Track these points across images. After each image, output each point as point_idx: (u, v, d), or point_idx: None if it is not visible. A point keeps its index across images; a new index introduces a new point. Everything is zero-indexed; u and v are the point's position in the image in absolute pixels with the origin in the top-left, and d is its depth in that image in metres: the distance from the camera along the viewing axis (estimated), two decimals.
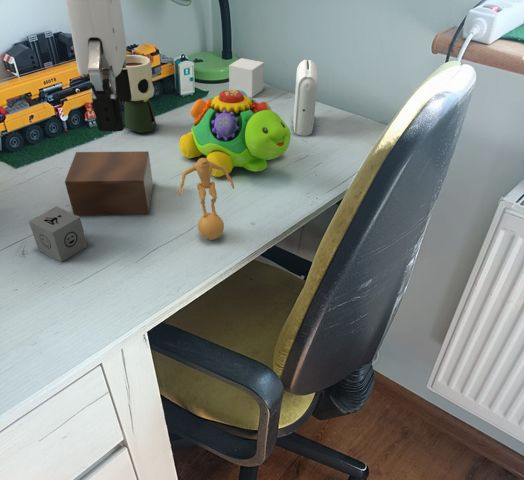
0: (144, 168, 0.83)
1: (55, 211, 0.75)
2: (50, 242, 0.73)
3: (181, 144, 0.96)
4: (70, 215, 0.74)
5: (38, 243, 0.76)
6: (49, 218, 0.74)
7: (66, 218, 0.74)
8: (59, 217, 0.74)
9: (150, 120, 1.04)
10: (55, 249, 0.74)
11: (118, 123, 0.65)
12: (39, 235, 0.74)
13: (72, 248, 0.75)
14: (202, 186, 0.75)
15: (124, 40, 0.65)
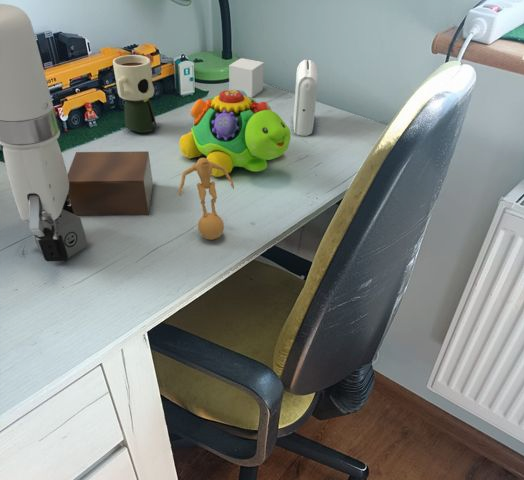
0: (144, 168, 0.83)
1: None
2: None
3: (181, 144, 0.96)
4: (70, 215, 0.74)
5: (38, 243, 0.76)
6: None
7: (66, 218, 0.74)
8: (59, 217, 0.74)
9: (150, 120, 1.04)
10: None
11: (62, 255, 0.73)
12: None
13: (72, 248, 0.75)
14: (202, 186, 0.75)
15: (65, 181, 0.72)
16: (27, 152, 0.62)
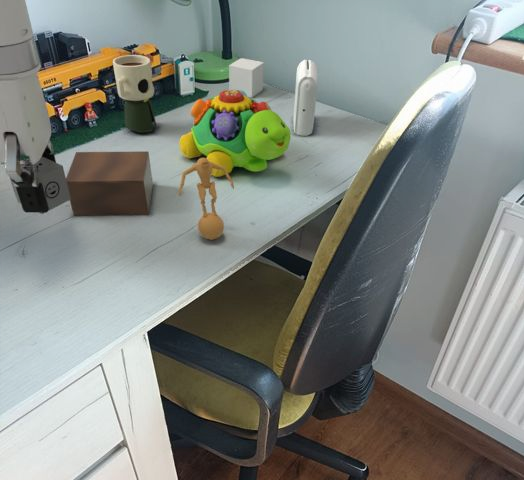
0: (144, 168, 0.83)
1: None
2: None
3: (181, 144, 0.96)
4: (52, 164, 0.69)
5: (16, 194, 0.70)
6: None
7: (47, 166, 0.68)
8: (40, 165, 0.68)
9: (150, 120, 1.04)
10: None
11: (42, 206, 0.68)
12: None
13: (54, 200, 0.70)
14: (202, 186, 0.75)
15: (46, 125, 0.66)
16: (3, 83, 0.57)
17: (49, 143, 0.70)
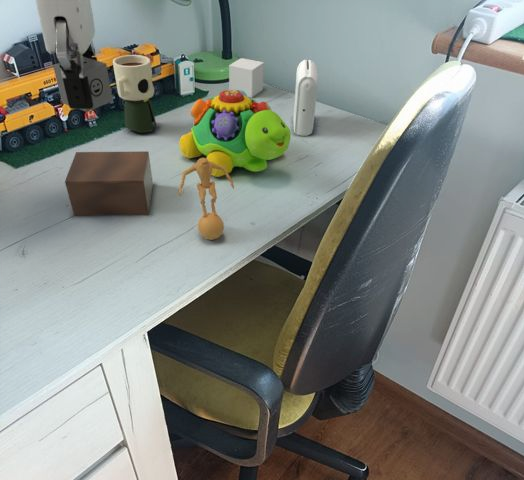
0: (144, 168, 0.83)
1: None
2: None
3: (181, 144, 0.96)
4: (96, 62, 0.71)
5: (62, 93, 0.72)
6: None
7: (92, 64, 0.71)
8: (84, 63, 0.71)
9: (150, 120, 1.04)
10: None
11: (87, 101, 0.70)
12: None
13: (97, 98, 0.72)
14: (202, 186, 0.75)
15: (91, 21, 0.69)
16: None
17: (92, 44, 0.73)
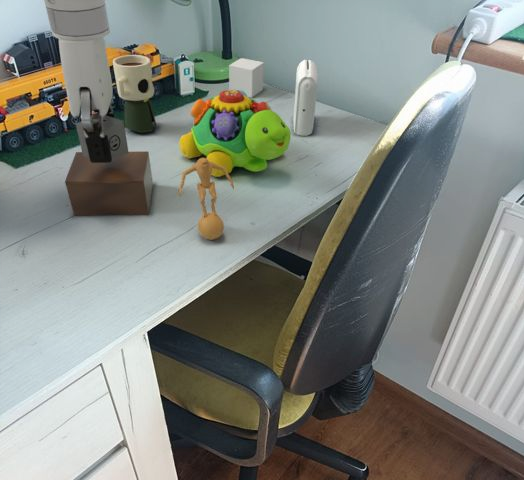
0: (144, 168, 0.83)
1: None
2: None
3: (181, 144, 0.96)
4: (114, 120, 0.79)
5: (83, 148, 0.80)
6: (94, 122, 0.78)
7: (110, 122, 0.78)
8: (104, 121, 0.78)
9: (150, 120, 1.04)
10: None
11: (107, 156, 0.78)
12: None
13: (115, 152, 0.80)
14: (202, 186, 0.75)
15: (110, 85, 0.76)
16: (81, 43, 0.67)
17: (110, 103, 0.80)
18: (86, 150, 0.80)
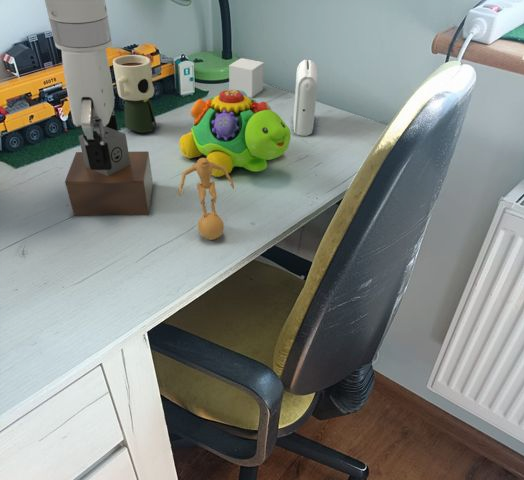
0: (144, 168, 0.83)
1: None
2: None
3: (181, 144, 0.96)
4: (116, 132, 0.80)
5: (85, 159, 0.81)
6: None
7: (113, 134, 0.80)
8: (106, 133, 0.80)
9: (150, 120, 1.04)
10: None
11: (107, 163, 0.77)
12: None
13: (117, 164, 0.81)
14: (202, 186, 0.75)
15: (112, 94, 0.77)
16: (84, 55, 0.67)
17: None
18: None
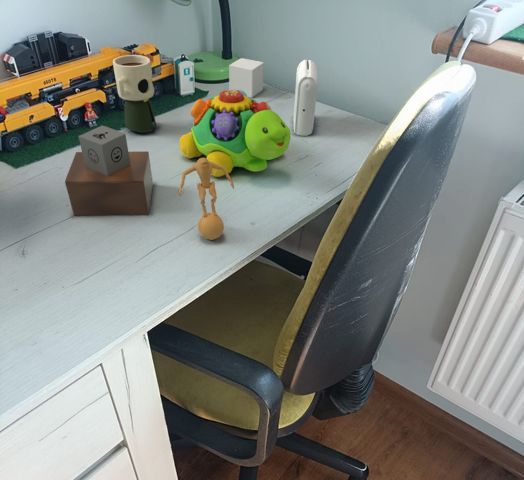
0: (144, 168, 0.83)
1: (102, 129, 0.81)
2: (98, 156, 0.79)
3: (181, 144, 0.96)
4: (116, 132, 0.80)
5: (85, 159, 0.81)
6: (97, 134, 0.80)
7: (113, 134, 0.80)
8: (106, 133, 0.80)
9: (150, 120, 1.04)
10: (102, 163, 0.79)
11: None
12: (87, 150, 0.80)
13: (117, 164, 0.81)
14: (202, 186, 0.75)
15: None
16: None
17: None
18: (89, 162, 0.81)
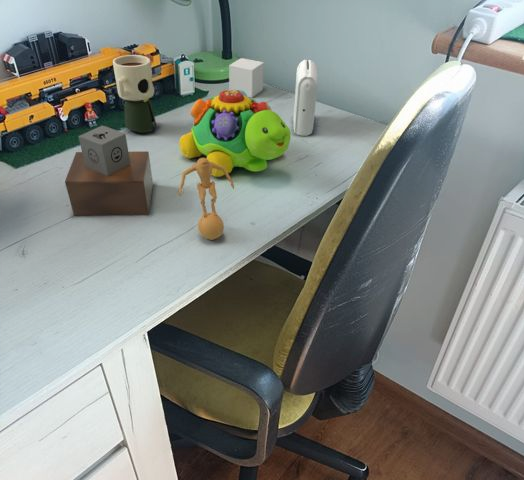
0: (144, 168, 0.83)
1: (102, 129, 0.81)
2: (98, 156, 0.79)
3: (181, 144, 0.96)
4: (116, 132, 0.80)
5: (85, 159, 0.81)
6: (97, 134, 0.80)
7: (113, 134, 0.80)
8: (106, 133, 0.80)
9: (150, 120, 1.04)
10: (102, 163, 0.79)
11: None
12: (87, 150, 0.80)
13: (117, 164, 0.81)
14: (202, 186, 0.75)
15: None
16: None
17: None
18: (89, 162, 0.81)
